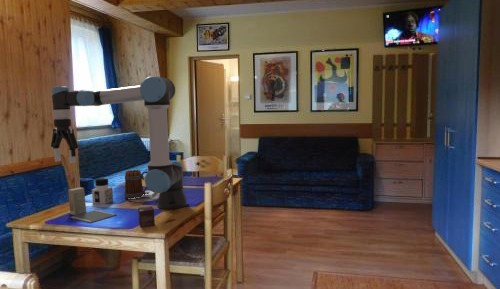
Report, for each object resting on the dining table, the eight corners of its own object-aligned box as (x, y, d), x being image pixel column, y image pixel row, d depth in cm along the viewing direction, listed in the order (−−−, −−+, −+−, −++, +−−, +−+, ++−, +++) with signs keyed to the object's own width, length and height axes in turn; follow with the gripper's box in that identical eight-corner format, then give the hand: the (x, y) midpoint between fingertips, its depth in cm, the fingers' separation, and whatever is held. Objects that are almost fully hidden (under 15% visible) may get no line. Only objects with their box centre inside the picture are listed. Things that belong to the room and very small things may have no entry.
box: (152, 221, 171) (151, 205, 170) (155, 225, 166) (154, 209, 165) (138, 223, 169) (137, 207, 168) (140, 227, 163) (139, 211, 162)
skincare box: (82, 210, 192) (80, 186, 190) (86, 212, 189) (84, 187, 188) (69, 213, 187) (67, 189, 185) (73, 215, 184) (71, 190, 183)
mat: (116, 215, 183) (116, 214, 183) (90, 223, 171) (90, 222, 171) (95, 210, 191) (95, 209, 191) (69, 218, 180) (69, 216, 180)
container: (105, 204, 204) (103, 179, 203) (92, 203, 206) (90, 179, 204) (113, 200, 212) (111, 177, 210) (100, 200, 213) (99, 176, 212)
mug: (122, 200, 212) (120, 173, 211) (127, 195, 223) (125, 170, 221) (151, 198, 213) (149, 172, 212) (154, 194, 224) (153, 169, 222)
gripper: (84, 118, 184) (87, 162, 186) (55, 118, 198) (58, 159, 200) (69, 119, 178) (72, 164, 180) (41, 118, 191) (44, 161, 194)
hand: (65, 162), depth 190 cm, fingers open, 12 cm apart
